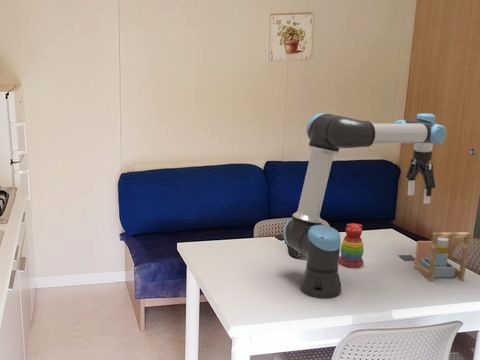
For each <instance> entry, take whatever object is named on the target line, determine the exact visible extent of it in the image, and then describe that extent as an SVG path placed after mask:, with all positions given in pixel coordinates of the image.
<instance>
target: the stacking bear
mask: <svg viewBox="0 0 480 360" xmlns="http://www.w3.org/2000/svg"><path fill="white" fill-rule="evenodd" d="M362 232H363V224H360V223H354V222H353V223H347V224H346V227H345V236H344V237H343V239H342V243H341V245H340V255H339V265H341V266H343V267H346V268H350V269H351V268H352V269H356V268H357V269H358V268H360V267H362V266H363V265H364V259H363V254H364V249H365V248H364V241H363V239H362V238H361V236H362Z"/></svg>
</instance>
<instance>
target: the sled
mask: <svg viewBox="0 0 480 360" xmlns="http://www.w3.org/2000/svg"><path fill="white" fill-rule="evenodd" d="M431 246H432V240H418V241H416V247H415V257H414V258H415V261H418V262H419V263H420V264H421V265H423V266H424V267H425V268H426V269H428V270H429V257H430V249H431ZM415 261H414V262H415ZM450 263H451V262H449V261H447V267H434V275H433V278H455V277H456V276H455V271H456V268H457V267H456V266H455V265H453V264H452V263H451V264H450Z"/></svg>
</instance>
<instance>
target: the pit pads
mask: <svg viewBox="0 0 480 360" xmlns="http://www.w3.org/2000/svg"><path fill="white" fill-rule="evenodd" d="M398 257H399V258H400V259H401V260H402V261H403V262H407V261H409V262H411V261H414V262H415V257H414V256H413V255H411V254H405V255H404V254H402V255H401V254H399V255H398Z"/></svg>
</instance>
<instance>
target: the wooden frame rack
mask: <svg viewBox="0 0 480 360" xmlns="http://www.w3.org/2000/svg"><path fill="white" fill-rule="evenodd" d="M471 235H472V234H471V233H470V232H467V231H466V232H465V231H464V232H462V231H461V232H460V231H459V232H458V231H457V232H454V231H453V232H449V231H447V232H440V231H439V232H432V240H431V241H432V248H431V257H430V265H429V270H428V269H426V268H425V267H424V266H423V265H421V264H420V262H418V261H414V265H413V268H414V269H415V270H416V271H417V272H419V273H420V275H422V276H423V277H424V278H425V279H427V280H428V281H429V282H433V281H434V277H433V275H434V266H435V258H436V250H437V242H438V238H448V239H463V245H462V252H461V259H460V266H459V267H460V268H457V267H456V271H455V277H456V278H457V277H458V278H459V279H460V280H461V282H463V281H462V280H464V281H465V275H466V274H465V273H466V267H467V259H468V253H469V246H470V238H471ZM449 263H450V264H452V263H451V262H449ZM458 278H457V279H458ZM459 279H458V280H459ZM460 280H459V281H460Z"/></svg>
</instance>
